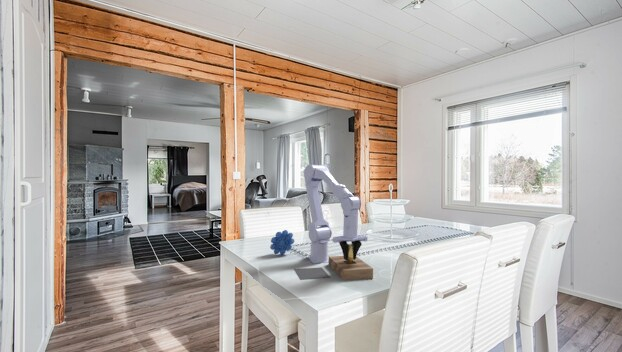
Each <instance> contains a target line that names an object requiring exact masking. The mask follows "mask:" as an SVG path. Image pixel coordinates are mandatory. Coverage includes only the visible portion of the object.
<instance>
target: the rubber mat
mask: <svg viewBox="0 0 622 352" xmlns="http://www.w3.org/2000/svg"><path fill="white" fill-rule="evenodd" d="M293 270H294V272H295V274H296V275H297V277H298V279H299V280H300V281H306V280H317V279H318V280H320V279H330V278H331V276H330V275H329V274H328V273H327V272H326V270H325V269H324V268H323V267H320V266H319V267H308V268H307V267H305V268H293Z"/></svg>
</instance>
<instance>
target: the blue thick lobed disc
mask: <svg viewBox="0 0 622 352" xmlns="http://www.w3.org/2000/svg"><path fill="white" fill-rule="evenodd" d="M293 237H294V234H293V232H289V231H288V229H287V230H286V229H284V230H282V231H277V232H276V233H275V236H273V237H272V238H271V239H270V242H271V244H270V250H273V253H274V255H278V254H280V255H283V256H284V255H285V254H286V252H287V251H288V252H290V251H291V250H292V247H293V246H292V245H294V244H295V239H294V238H293Z"/></svg>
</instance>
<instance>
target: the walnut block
mask: <svg viewBox="0 0 622 352" xmlns="http://www.w3.org/2000/svg"><path fill="white" fill-rule="evenodd" d="M328 260H329V262H328V265H329V267H330V268H331V269H332V270H333V271H334V272H335V273H336V274H337V275H338V276H339V277H340V279H342V280H343V281H345V280H346V281H348V280H357V279H369V280H373V279H374V268H373V267H372V266H371V265H369V264H368V263H366V262H365V261H363V259H360V258H359V257H358V256H356V259H355V260H354V259H353V264H346V260H345V259H344V256H343V255H333V256H332V255H331V256H328Z"/></svg>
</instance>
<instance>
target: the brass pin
mask: <svg viewBox="0 0 622 352" xmlns="http://www.w3.org/2000/svg"><path fill="white" fill-rule="evenodd" d="M347 244H348V245H349V246H348V258H347V260H346V264H353V259H354V245H353V244H352V243H351V244H350V243H347Z"/></svg>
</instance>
